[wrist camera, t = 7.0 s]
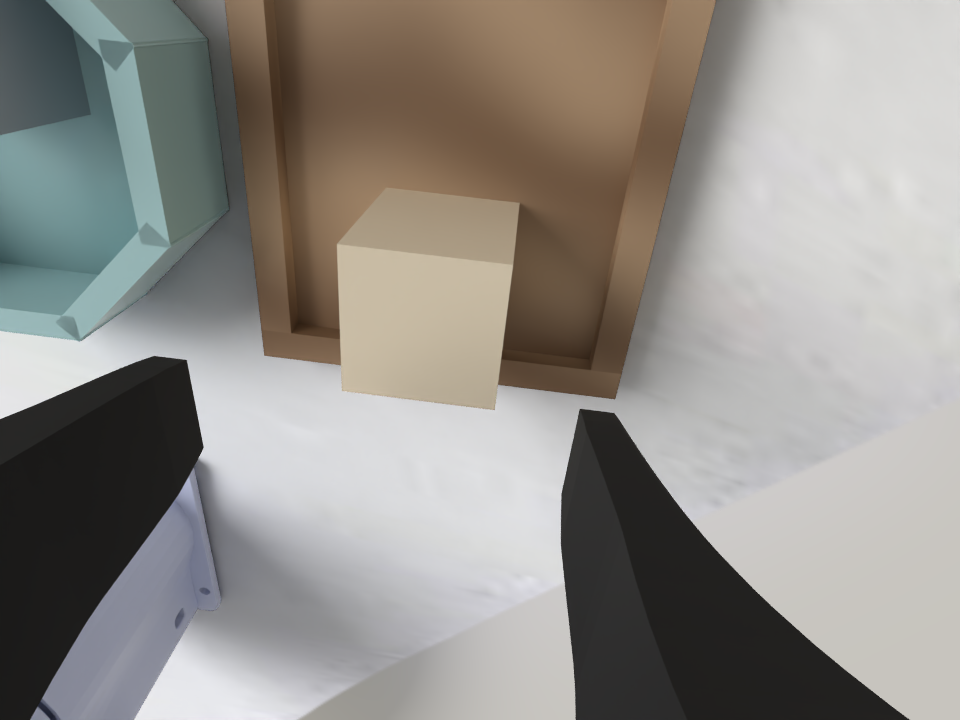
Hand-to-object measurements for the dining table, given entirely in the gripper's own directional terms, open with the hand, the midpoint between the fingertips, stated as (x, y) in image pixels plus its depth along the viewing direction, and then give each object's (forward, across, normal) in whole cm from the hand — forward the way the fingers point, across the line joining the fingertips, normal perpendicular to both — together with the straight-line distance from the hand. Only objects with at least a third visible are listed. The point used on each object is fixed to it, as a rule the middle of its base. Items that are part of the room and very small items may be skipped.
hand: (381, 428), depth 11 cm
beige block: (+9, 0, 0) cm, 9 cm away
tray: (+9, 0, -3) cm, 10 cm away
